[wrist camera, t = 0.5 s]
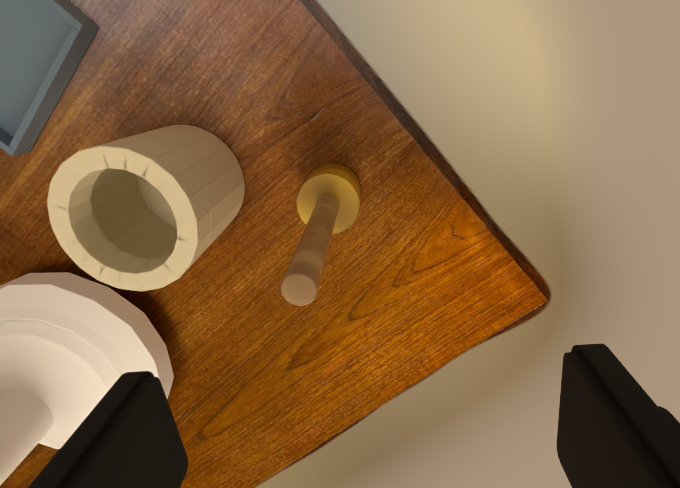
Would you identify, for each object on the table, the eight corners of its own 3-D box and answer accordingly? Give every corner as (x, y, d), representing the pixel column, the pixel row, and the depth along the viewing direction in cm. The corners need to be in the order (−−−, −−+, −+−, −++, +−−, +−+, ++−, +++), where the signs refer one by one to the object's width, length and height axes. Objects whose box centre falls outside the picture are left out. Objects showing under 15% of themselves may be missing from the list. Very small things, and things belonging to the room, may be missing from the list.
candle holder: (184, 428, 50) (77, 630, 32) (15, 397, 50) (-185, 581, 32) (187, 277, 42) (48, 432, 24) (-12, 241, 42) (-297, 369, 24)
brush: (329, 150, 36) (290, 221, 19) (372, 189, 37) (371, 288, 20) (292, 193, 38) (228, 291, 21) (335, 229, 39) (305, 350, 22)
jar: (173, 98, 35) (91, 111, 25) (267, 178, 37) (227, 219, 27) (114, 185, 39) (22, 227, 29) (204, 254, 41) (147, 316, 31)
